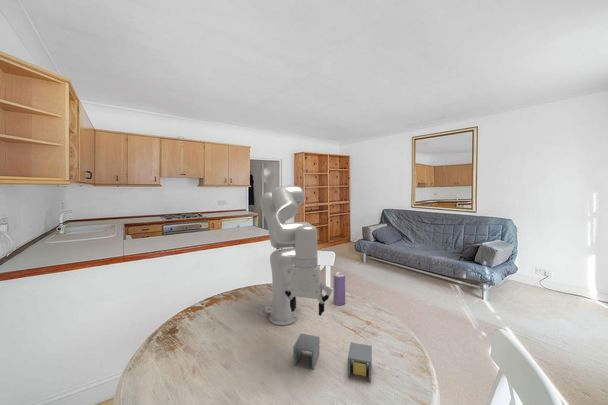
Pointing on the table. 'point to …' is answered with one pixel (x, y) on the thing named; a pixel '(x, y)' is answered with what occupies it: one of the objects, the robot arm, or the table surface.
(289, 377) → the table surface
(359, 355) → the right cover
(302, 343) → the left cover
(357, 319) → the table surface
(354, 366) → the cube
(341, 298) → the beverage can
